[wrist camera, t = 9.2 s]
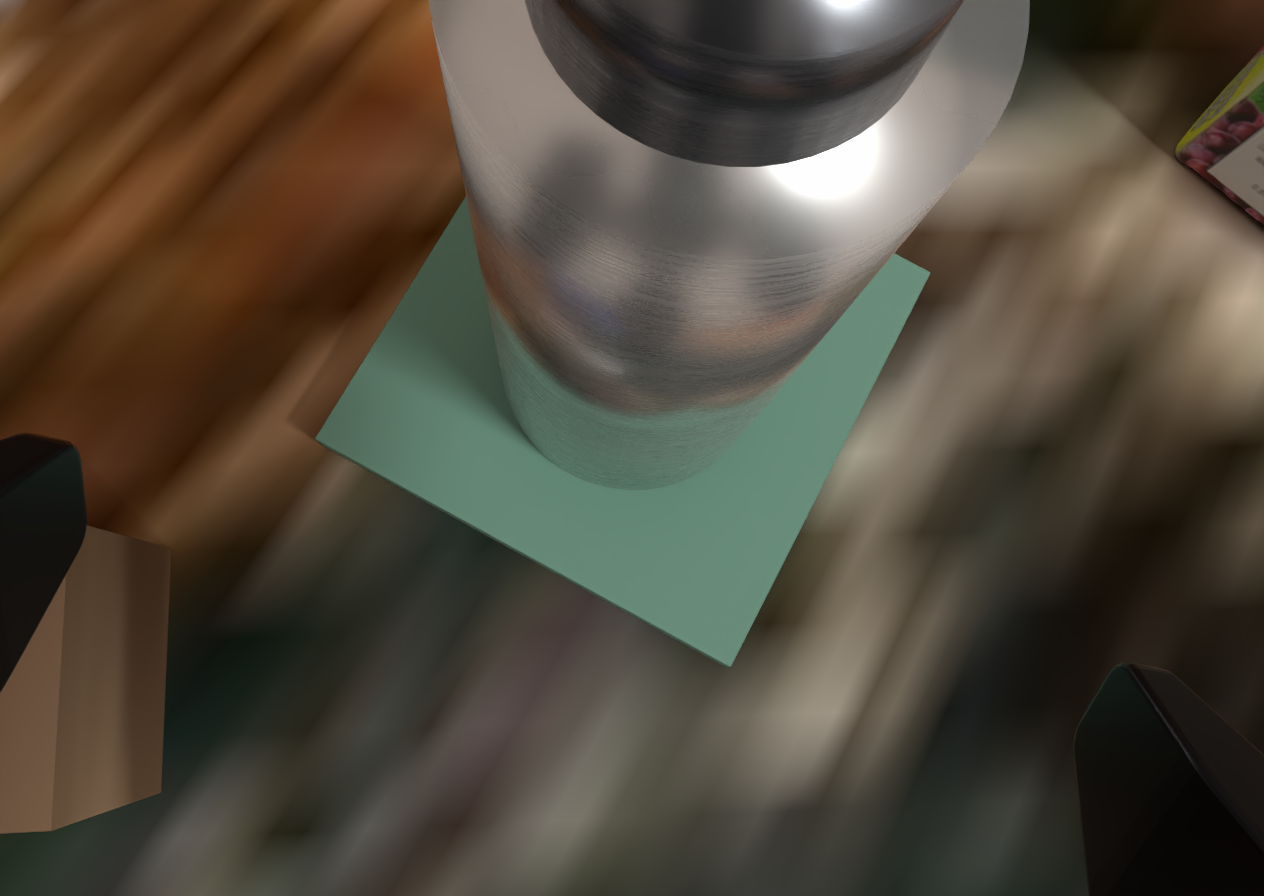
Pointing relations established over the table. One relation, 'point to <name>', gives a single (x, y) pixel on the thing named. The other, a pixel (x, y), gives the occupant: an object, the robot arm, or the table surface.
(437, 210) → the table surface
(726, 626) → the mat
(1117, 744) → the robot arm
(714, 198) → the bottle
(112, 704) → the walnut block
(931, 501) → the table surface
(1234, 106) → the snack box
